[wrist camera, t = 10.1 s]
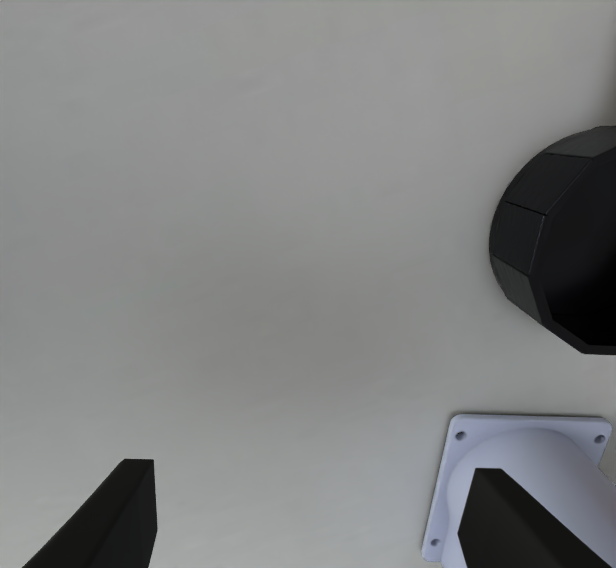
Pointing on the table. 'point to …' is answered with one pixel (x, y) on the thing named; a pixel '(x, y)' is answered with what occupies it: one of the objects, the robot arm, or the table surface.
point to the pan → (563, 240)
